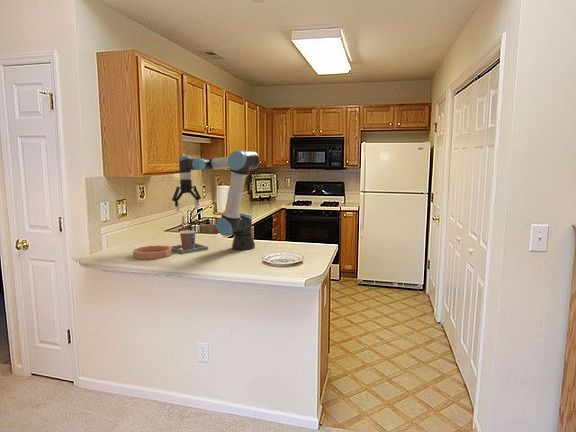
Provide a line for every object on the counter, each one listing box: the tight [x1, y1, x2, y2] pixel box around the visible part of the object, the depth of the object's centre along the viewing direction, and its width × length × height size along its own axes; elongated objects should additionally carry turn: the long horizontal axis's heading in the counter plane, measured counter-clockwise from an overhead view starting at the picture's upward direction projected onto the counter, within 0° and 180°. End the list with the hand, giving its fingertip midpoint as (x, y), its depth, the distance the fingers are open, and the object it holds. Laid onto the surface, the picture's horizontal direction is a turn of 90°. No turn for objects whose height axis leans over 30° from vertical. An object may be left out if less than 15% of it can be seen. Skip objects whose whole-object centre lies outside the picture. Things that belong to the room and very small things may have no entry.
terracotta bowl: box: [132, 245, 173, 261], centre depth 242 cm, size 22×22×4 cm
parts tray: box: [170, 242, 209, 255], centre depth 259 cm, size 18×18×2 cm
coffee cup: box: [179, 229, 196, 250], centre depth 258 cm, size 10×10×12 cm
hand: (187, 210), depth 269 cm, fingers open, 13 cm apart
